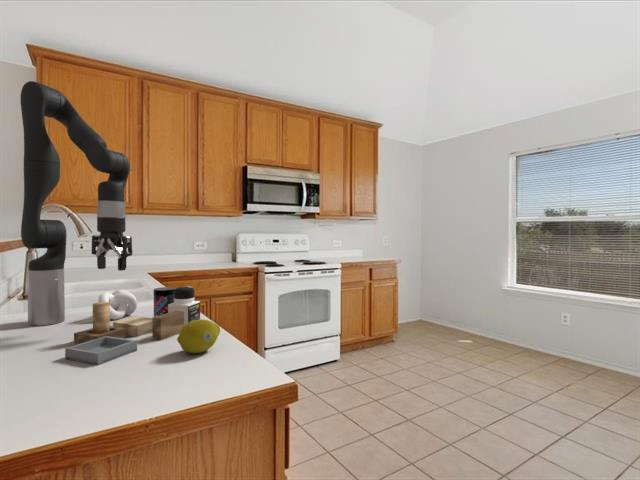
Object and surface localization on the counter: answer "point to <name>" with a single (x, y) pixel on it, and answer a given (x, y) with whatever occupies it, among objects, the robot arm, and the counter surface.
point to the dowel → (101, 317)
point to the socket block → (89, 335)
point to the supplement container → (162, 300)
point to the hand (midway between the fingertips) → (111, 269)
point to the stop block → (167, 325)
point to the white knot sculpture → (119, 303)
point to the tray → (100, 350)
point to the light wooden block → (136, 325)
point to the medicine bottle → (185, 304)
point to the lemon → (198, 336)
